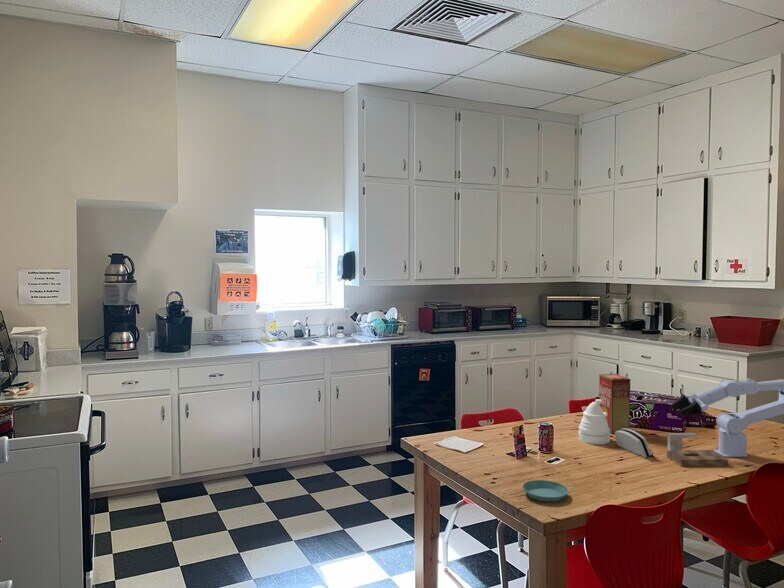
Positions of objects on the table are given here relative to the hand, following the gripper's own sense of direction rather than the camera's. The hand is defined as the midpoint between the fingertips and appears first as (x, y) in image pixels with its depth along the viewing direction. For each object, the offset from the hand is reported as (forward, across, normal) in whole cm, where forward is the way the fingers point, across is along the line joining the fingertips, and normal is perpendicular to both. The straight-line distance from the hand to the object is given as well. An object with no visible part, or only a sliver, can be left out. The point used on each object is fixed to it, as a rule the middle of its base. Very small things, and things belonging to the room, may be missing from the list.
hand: (676, 410), depth 236 cm
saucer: (+64, +45, -12) cm, 79 cm away
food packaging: (+20, -32, +13) cm, 40 cm away
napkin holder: (+22, -1, +10) cm, 24 cm away
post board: (+3, +11, +17) cm, 20 cm away
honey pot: (+32, -17, +6) cm, 37 cm away
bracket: (+3, -2, +18) cm, 18 cm away
